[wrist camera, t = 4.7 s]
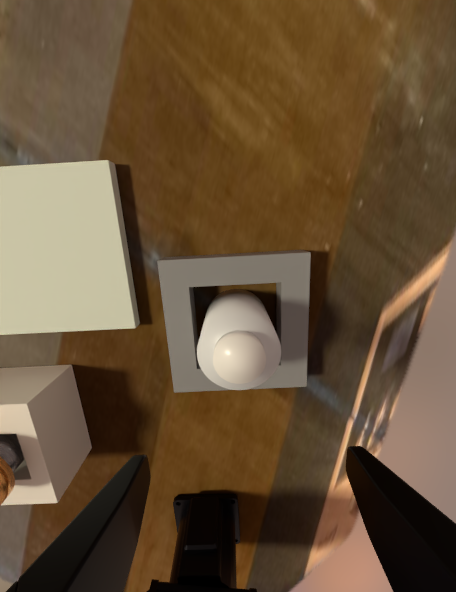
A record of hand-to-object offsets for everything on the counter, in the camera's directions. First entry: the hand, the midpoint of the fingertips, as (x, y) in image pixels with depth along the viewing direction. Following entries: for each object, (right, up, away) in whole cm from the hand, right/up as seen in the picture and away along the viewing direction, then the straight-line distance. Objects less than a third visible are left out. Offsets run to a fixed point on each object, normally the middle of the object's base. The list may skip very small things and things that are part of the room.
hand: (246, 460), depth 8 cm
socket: (0, +3, +13) cm, 13 cm away
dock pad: (-14, +8, +11) cm, 20 cm away
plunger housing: (-17, -5, +15) cm, 24 cm away
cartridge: (0, +3, +13) cm, 13 cm away
